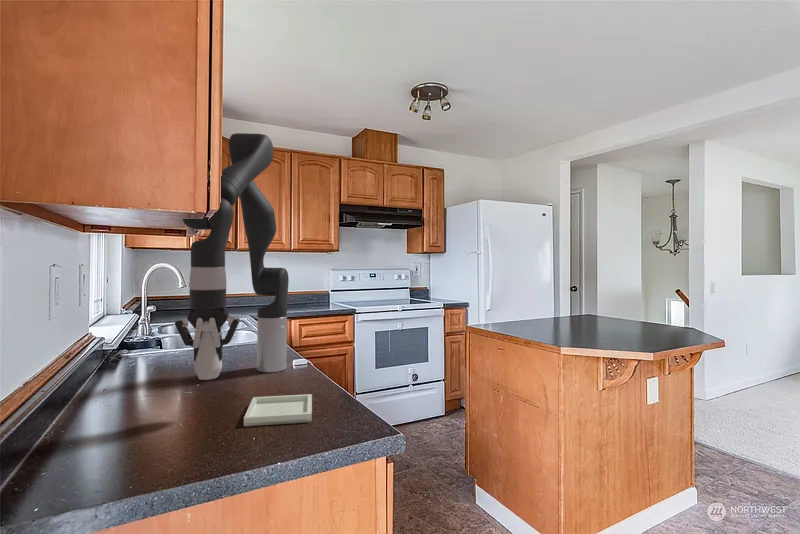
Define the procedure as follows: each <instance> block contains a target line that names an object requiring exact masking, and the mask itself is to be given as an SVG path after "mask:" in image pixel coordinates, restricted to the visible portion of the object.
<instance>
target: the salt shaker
mask: <svg viewBox="0 0 800 534" xmlns="http://www.w3.org/2000/svg"><path fill="white" fill-rule="evenodd" d="M200 327H201V332H202V333H201V338H200V344H199V347H198V348H199V350H198V354H197V356H196V360H195V361H194V366H193V371H194V372H195V374H196V375H197V377H198V379H199V380H205V381H207V380H214V379H216V378H218V377H219V376H220V373H221V371H222V369H223V362H222V360H221V361H220V360H219V355H217V352H216V348H217V347H215V343H214V338H213V336H212V325H210V322H209V321H203V323H202V326H200Z"/></svg>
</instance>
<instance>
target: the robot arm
mask: <svg viewBox="0 0 800 534" xmlns="http://www.w3.org/2000/svg"><path fill="white" fill-rule="evenodd" d="M228 153H229V157H230V162H231V163H230V165H228V166H226V167H225V168H223V169H222V176H221V203H220V208H219V210H218V211H217V212H215V213H214V215H213V216H212V217H211V218H210V219H209V218H208V219H209V220H208V219H207V218H203V219H183V220H182V223H184V225H185V226H186V227H188V228H190V229H193V230H203V231H204V230H205V231H207V230H210V231H209V234H208V235H207V237H206V238H204V239H200V240H195V241H193V242H192V243H191V244H190V245H191V246H190V272H189V281H188V287H189V295H188V296H189V311H188V314H187V315H186V317H183V318H181V319H177V320H176V321H175V322H174V326H175V328H176V330H177V332H178V334H179V335H180V339H181V340H182V342H183V344H184V345H185V346H187V347H192V348H193V361H194V362H195V360H196V356H197V354H198V350H199V348H198V347H199V344H200V338H201V333H202V332H201V327H200V326H202V323H203V321H209V322H210V325H212V336H213V338H214V343H215V347H217V348H216V352H217V355H219V360H220V361H221V360H222V359H223V347H224V346H226V345H229V344H230V342H232V339H233V337H234V335H235V333H236V331H237V329H238V326H239V324H240V322H241V319H240V318H239V317H233V316H230V315H229V313H228V310H227V275H226V274H227V273H226V272H227V271H226V246H227V243H228V240H229V236H230V231H231V228H232V226H233V222H234V217H235V216H234V215H235V214H234V210H233V209H234V208H233V206H234V205H235V204H236V203H237V201H238V199H240V207H241V213H242V222H243V226H244V227H243V228H244V231H245V235H246V241H247V246H248V252H249V261H250V263H249V264H250V274H251V275H250V276H251V283H252V289H253V291H254V293H255V295H257V296H262V297H265V296H268V297H274V300H273V301H272V302H271V303H269V304H266V305H263V306H261V307H258V309H257V319H256V321H257V336H256V337H257V338H256V339H257V341H256V343H257V344H256V346H257V347H256V371H258V372H261V373H277V372H281V371H284V370H286V369H287V356H288V355H287V353H288V352H287V351H288V350H287V345H288V343H287V341H288V336H287V332H288V330H287V328H288V325H287V324H288V321H287V319H288V299H289V298H288V296H289V284H290V283H289V281H290V280H289V272H288V271H287V269H286V268H284V267H265V264H264V258H265V255H266V253H267V250H268V248H269V246H270V244H272V243H273V240H274V238H275V236H276V233H277V222H276V214H275V210H274V207H273V205H272V204H271V202H270V201H269V199H268V198H267V197H266V196H265V194H264V193H263V192H262V191H261V190H260V188H259V187H258V186H257V184H256V183H255V181H254V180H255V179H256V178H258V176H260V175H261V173H263V172H264V171H265V170H266V169H267V168H269V166H270V165H271V164H272V161H273V159H274V146H273V142H272V139H271V138H270V137H269V136H268V135H266V134H262V133H244V132H243V133H241V132H240V133H239V132H237V133H232V134H231V135H230V137H229V139H228ZM226 322H227V327H229V328H228V330H227V333H226V335H225V338H223V335H222V334H223V333H222V327H223V326H224V325H225V323H226ZM189 324H191V326H192V327H193V328H194V329H195V330H194V335H193V337H192V335H191V333H190V331H189V328H188V327H189Z"/></svg>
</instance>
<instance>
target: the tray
mask: <svg viewBox="0 0 800 534" xmlns="http://www.w3.org/2000/svg"><path fill="white" fill-rule="evenodd" d="M312 415H313V393H311V394H310V393H307V394H292V395H291V394H289V395H269V396H253V397H252V399H251V401H250V404H249V406H248V408H247V409H246V413H245V415H244V416H243V427H253V426H254V427H255V426H256V427H257V426H267V425H268V426H269V425H273V426H274V425H285V424H286V425H287V424H300V423H302V424H303V423H312V417H313V416H312Z"/></svg>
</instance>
